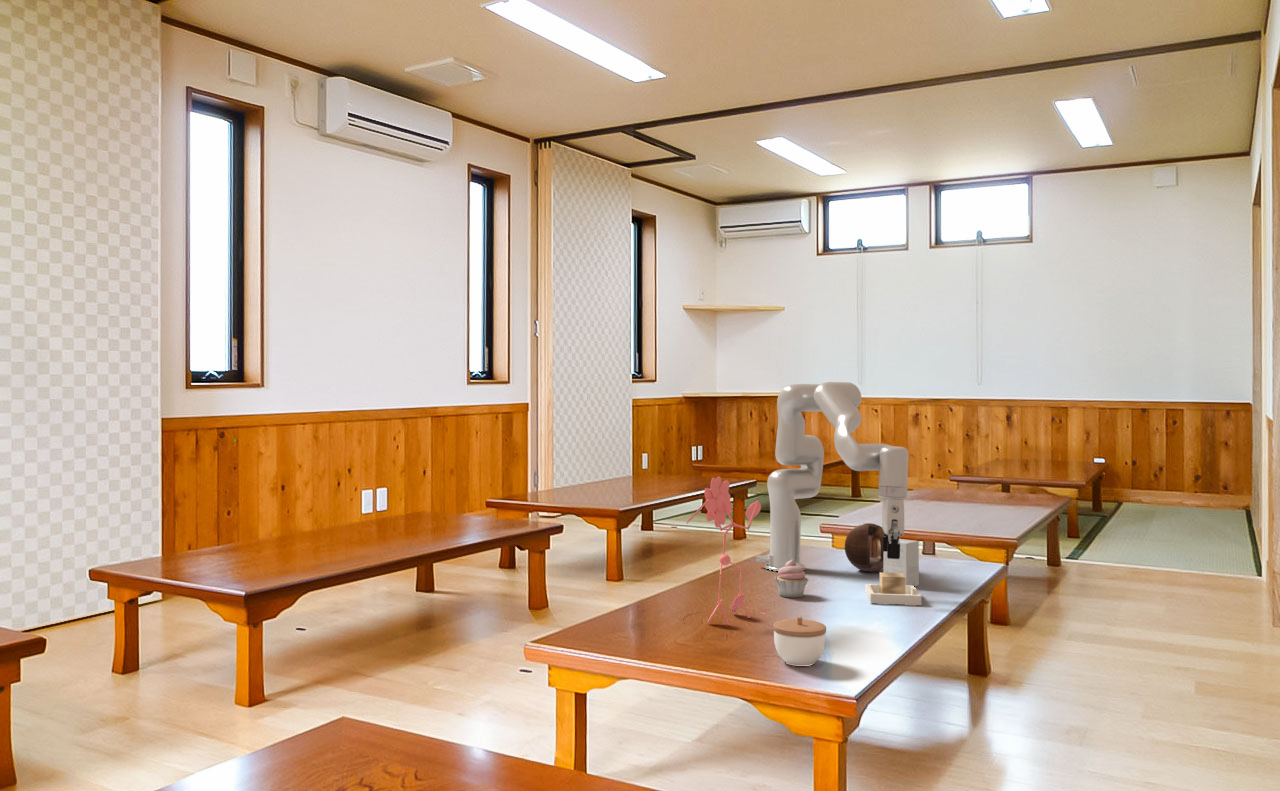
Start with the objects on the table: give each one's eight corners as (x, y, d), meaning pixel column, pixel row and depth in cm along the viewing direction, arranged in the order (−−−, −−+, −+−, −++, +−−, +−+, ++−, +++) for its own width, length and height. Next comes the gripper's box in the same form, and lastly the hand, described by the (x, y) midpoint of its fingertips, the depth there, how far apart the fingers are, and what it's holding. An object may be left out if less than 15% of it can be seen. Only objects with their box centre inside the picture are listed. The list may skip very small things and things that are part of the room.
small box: (919, 586, 267) (919, 541, 267) (906, 588, 263) (906, 543, 263) (895, 581, 274) (895, 537, 274) (882, 584, 270) (882, 539, 269)
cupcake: (793, 601, 246) (793, 563, 246) (767, 595, 254) (767, 558, 254) (815, 596, 252) (816, 560, 252) (789, 590, 260) (790, 555, 260)
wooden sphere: (847, 565, 299) (847, 519, 299) (895, 568, 294) (895, 521, 294) (841, 573, 285) (841, 525, 285) (891, 577, 280) (892, 528, 280)
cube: (882, 599, 247) (882, 576, 247) (879, 594, 253) (879, 572, 253) (905, 599, 246) (905, 577, 246) (901, 595, 252) (902, 573, 252)
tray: (870, 603, 244) (870, 593, 244) (865, 593, 257) (865, 584, 257) (921, 605, 242) (921, 595, 242) (913, 595, 255) (913, 585, 255)
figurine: (770, 613, 232) (768, 474, 233) (712, 633, 212) (710, 481, 212) (719, 605, 242) (717, 472, 242) (659, 624, 222) (657, 479, 222)
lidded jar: (767, 667, 186) (768, 620, 186) (779, 653, 196) (779, 609, 196) (821, 673, 183) (821, 625, 183) (829, 658, 193) (830, 613, 193)
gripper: (912, 497, 240) (910, 562, 241) (902, 488, 257) (900, 549, 258) (882, 495, 241) (880, 560, 242) (874, 487, 258) (873, 548, 259)
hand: (890, 554), depth 250 cm, fingers open, 9 cm apart
